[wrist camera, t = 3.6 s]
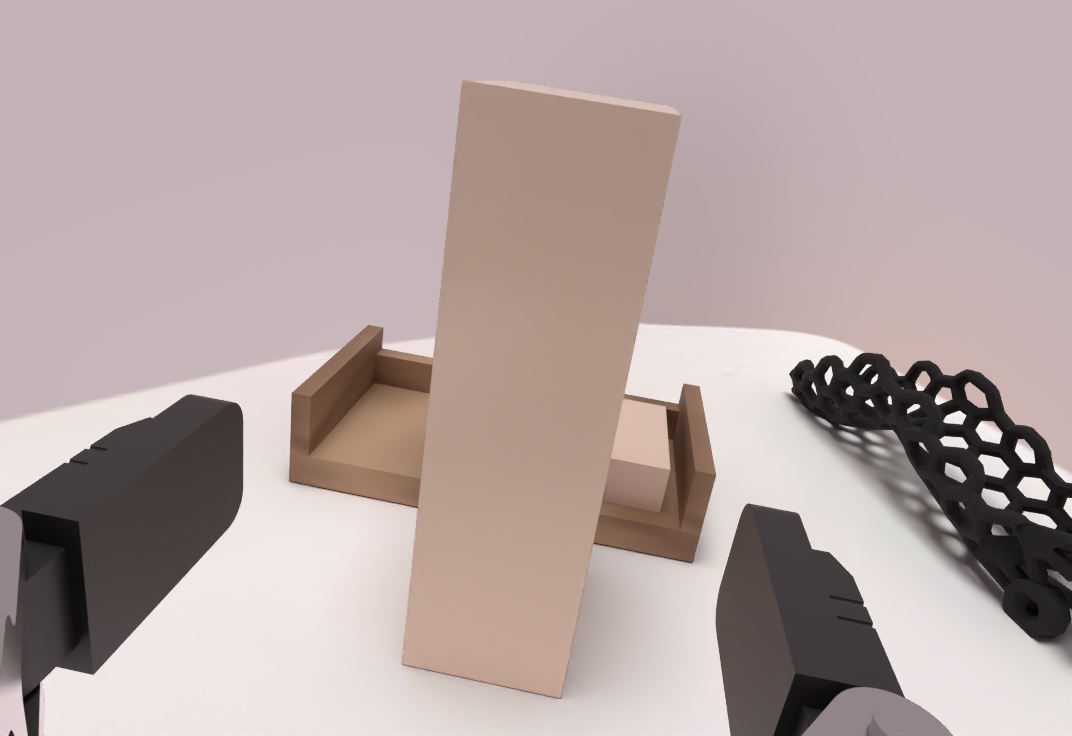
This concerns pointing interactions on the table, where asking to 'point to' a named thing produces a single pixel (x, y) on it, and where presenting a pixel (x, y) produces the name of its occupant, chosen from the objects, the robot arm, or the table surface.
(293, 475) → the wooden open-ended tray
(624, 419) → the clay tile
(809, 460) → the table surface
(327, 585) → the table surface
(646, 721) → the table surface
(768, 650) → the robot arm
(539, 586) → the beige wooden block
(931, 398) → the decorative element
